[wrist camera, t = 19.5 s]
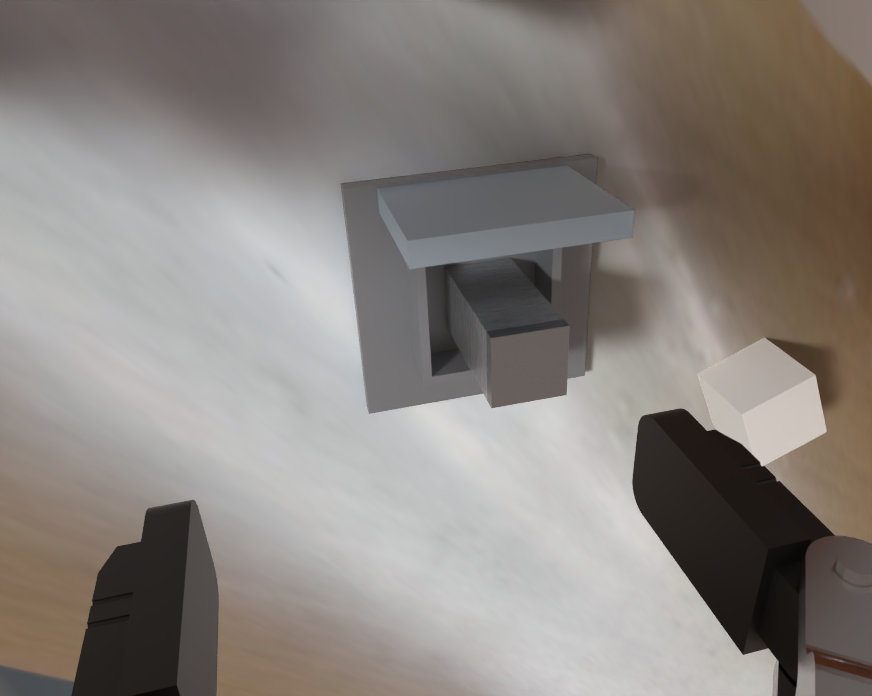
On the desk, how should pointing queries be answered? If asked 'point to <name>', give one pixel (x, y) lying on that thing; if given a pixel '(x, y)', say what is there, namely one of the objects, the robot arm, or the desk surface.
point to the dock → (467, 243)
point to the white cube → (763, 400)
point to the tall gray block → (506, 332)
